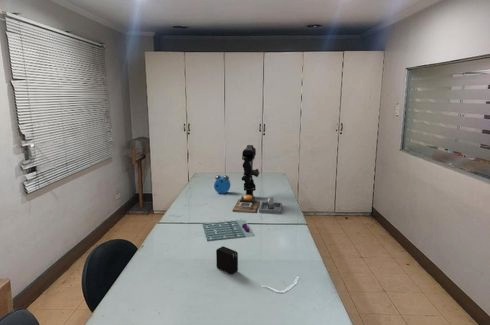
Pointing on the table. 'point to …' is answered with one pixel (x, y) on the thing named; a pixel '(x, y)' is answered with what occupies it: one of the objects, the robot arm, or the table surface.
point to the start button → (247, 197)
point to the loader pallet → (246, 205)
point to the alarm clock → (222, 184)
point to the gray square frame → (270, 209)
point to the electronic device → (227, 260)
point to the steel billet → (270, 203)
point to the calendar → (227, 230)
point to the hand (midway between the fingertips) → (247, 186)
